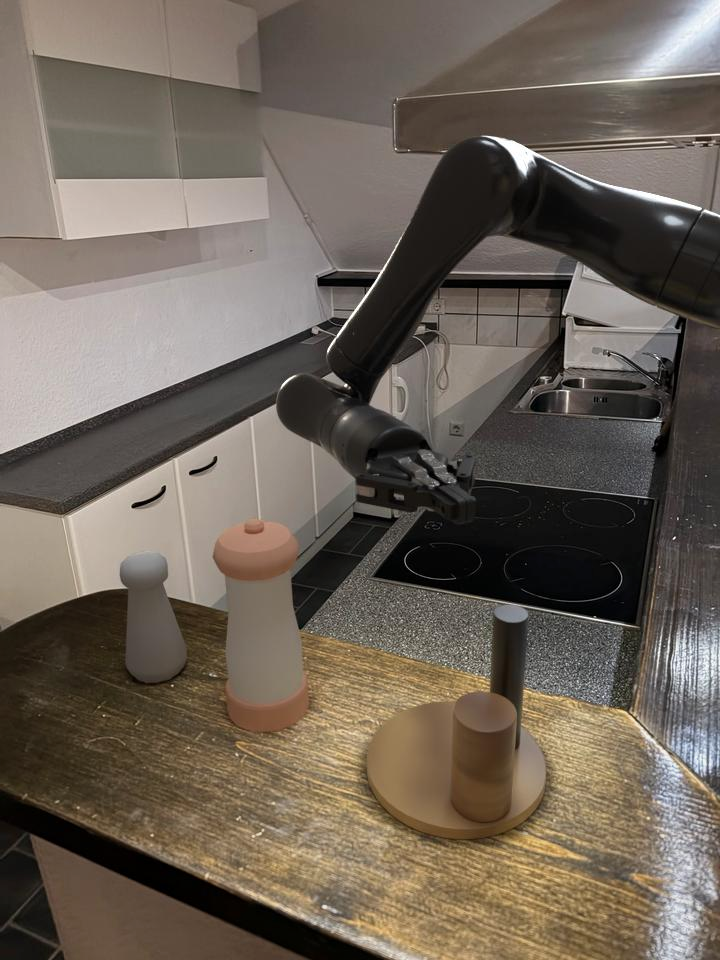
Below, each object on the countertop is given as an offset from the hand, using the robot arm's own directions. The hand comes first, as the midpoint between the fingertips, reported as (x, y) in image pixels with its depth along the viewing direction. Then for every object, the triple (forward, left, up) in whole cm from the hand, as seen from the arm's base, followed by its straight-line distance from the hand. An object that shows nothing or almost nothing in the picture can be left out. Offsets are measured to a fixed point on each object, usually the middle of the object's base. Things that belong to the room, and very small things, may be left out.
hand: (467, 512), depth 63 cm
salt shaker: (+25, -16, -19) cm, 35 cm away
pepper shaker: (+17, -6, -19) cm, 26 cm away
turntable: (+6, +8, -18) cm, 20 cm away
